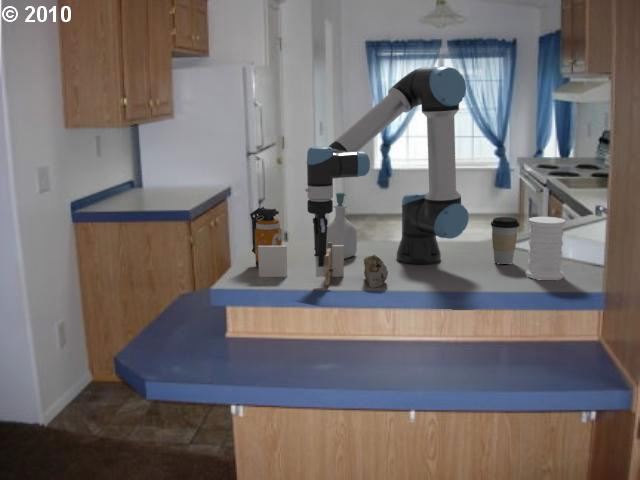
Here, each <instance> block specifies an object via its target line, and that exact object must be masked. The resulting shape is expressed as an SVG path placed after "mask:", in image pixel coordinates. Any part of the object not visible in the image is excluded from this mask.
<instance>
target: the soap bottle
mask: <svg viewBox="0 0 640 480" xmlns="http://www.w3.org/2000/svg"><path fill="white" fill-rule="evenodd" d="M335 194H336V202H337V204H333V209H335V216H334V219H332V220H331V221H330V222H329V223H328V224H327V227H328V229H327V242H333V245H344V260H345V259H346V260H347V259H349V258H350V257H353V256H355V255H356V254H357V251H358V249H357V248H358V245H357V244H358V242H357V241H358V240H357V239H358V234H357V232H358V231H357V229H356V227H355V225H353V224H352V223H351V222H350V221H349V220H348V219H347V218H346V208H347V206H348V205H347V204H343V203H344V199H345V197H346V196H347V195H346V194H345V192H336V193H335ZM326 252H327V243H326Z"/></svg>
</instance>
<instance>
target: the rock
mask: <svg viewBox="0 0 640 480" xmlns="http://www.w3.org/2000/svg"><path fill="white" fill-rule="evenodd" d="M363 264H364V265H363V266H364V273H363V274H364V278H365V279H366V281H367V282H368V286H369V288H371V289H372V288H373V289H374V288H379V287H381V286H383V285H384V284H385V282H386V280H387V279H388V276H389V271H388V268H387V266H386V264H385V263H384V261H383V260H382V259H381V258H380V257H379V256H376V254H373V255H370V256H369V255H368V256H366V257H364V258H363Z"/></svg>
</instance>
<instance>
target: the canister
mask: <svg viewBox="0 0 640 480" xmlns="http://www.w3.org/2000/svg"><path fill="white" fill-rule="evenodd" d="M279 213H280V211H279V210H277V209H276V208H266V207H264V206H261V208H260V207H258V208H256V209H255V210H254V211H252V212H251V213H249V216H250V220H251V230H252V231H251V232H252V235H251V237H252V249H251V252H252V253H253V254H255V255H254V256H255V266H256V267H257V268H259V261H258V246H283V235H282V234H283V233H282V231H283V230H282V228H281V224H280V220H279V219H278V218H274V217H276V215H279Z"/></svg>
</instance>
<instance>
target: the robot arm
mask: <svg viewBox="0 0 640 480" xmlns="http://www.w3.org/2000/svg"><path fill="white" fill-rule="evenodd" d="M466 83H467V82H466V80H465V78H464V76H463V74H462V73H461V72H460V71H459V70H458V69H457V68H454V67H450V66H432V67H425V66H424V67H419V68H416V69H414V70H412V71H410V72H408V74H406V75H405V76H403V77H402V78H400V80H398V81H397V82H396V83H395V84H393V86H391V87H390V88H389V89H388V92H387V93H388V94H387V95H386V96H385V97H383V98H382V99H381V100H380V101H379V102H378V103H377V104H375V105H374V106H373V107H372V108H371V109H370V110H368V112H366V113H365V114H364V115H363V116H362V117H361V118H359V119H358V120H357V121H356V122H355V123H353V125H352V126H350V127H349V128H347V130H346V131H344V132H343V133H342V134H341V135H340V136H339V137H338V138H337V139H335V140H334V141H333V142H332V143H330V144H329V145H328V146H324V145H323V146H311V147H309V148H308V150H307V153H306V154H307V155H306V166H307V167H306V171H307V172H306V174H307V175H306V177H307V178H306V179H307V183H306V184H307V188H305V191H304V192H307V199H308V200H307V212H308V213H309V214H313V215H314V217H313V218H312V224H313V235H314V236H313V241H314V244H313V245H314V248H313V250H314V251H315V252H314V253H313V255H314V257H315V277H316V278H318V277H320V278H322V277H325V255H326V243H327V229H328V227H327V226H328V225H329V223H328V218H327V217H326V215H328V214H332V212H333V211H334V210H333V209H334V204H333V202H334V201H333V197H334V186H333V185H334V183H333V182H334V179H343V178H345V179H346V178H359V177H365V176H367V175H368V173H369V172H370V167H371V161H370V158H369V154H367V152H365V151H361V150H362V149H363V148H364V147H366V145H368V144H369V143H370V142H371V141H372V140H373V139H375V137H377V136H378V135H379V134H380V133H381V132H383V131H384V130H385V129H386V128H387V127H388V126H390V124H392V123H393V122H394V121H395V120H397V118H398V117H399V116H401V115H402V114H403V113H406V114H407V113H409V112H410V111H411V110H413V109H414V108H415V107H416V108H417V107H418V106H421V113H422V114H423V115H424V116H425V117H426V128H427V129H426V130H427V131H426V132H427V133H426V134H427V135H426V136H427V160H428V162H427V163H428V192H419V193H408V194H405V195H403V197H402V202H401V238H400V242H399V244H398V248H397V251H396V260H397V261H398V262H401V263H404V264H411V265H412V264H414V265H428V264H429V263H430V264H435V263H438V262H440V261H441V260H440V259H441V255H442V254H441V250H440V247H439V243H438V240H437V237H438V238H441V239H456V238H457V237H459V236H460V235H462V234H463V232H464V231H465V230H466V229H467V226H468V224H469V219H470V218H469V217H470V216H469V212H468V209H467V208H466V207H465V206H464V205H463V204H462V195H461V194H460V193H459V191H457V176H456V175H457V174H456V173H457V172H456V170H457V169H456V132H455V131H456V130H455V128H456V127H455V126H456V125H455V116H456V114H457V113H458V112H459V111H460V103H462V101H464V100H463V99H464V98H465V96H466V94H467V93H466V92H467V84H466ZM439 260H440V261H439ZM437 261H438V262H437ZM434 262H435V263H434Z"/></svg>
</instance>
